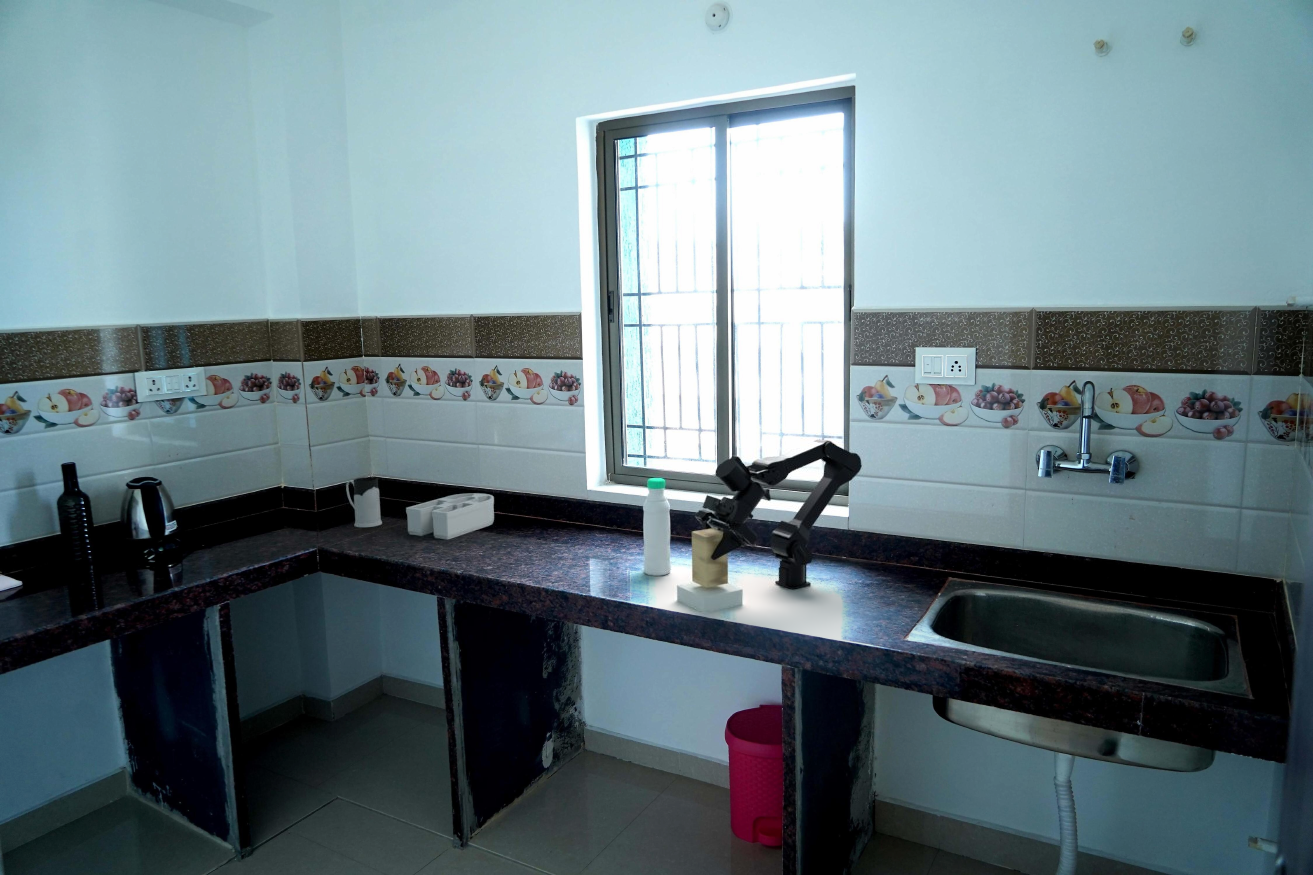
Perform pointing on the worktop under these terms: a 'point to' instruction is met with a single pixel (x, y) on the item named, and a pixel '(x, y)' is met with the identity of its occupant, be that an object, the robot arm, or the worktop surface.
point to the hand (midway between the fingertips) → (704, 555)
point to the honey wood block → (708, 559)
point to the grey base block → (709, 596)
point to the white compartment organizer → (451, 515)
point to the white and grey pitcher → (366, 502)
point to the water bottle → (656, 529)
